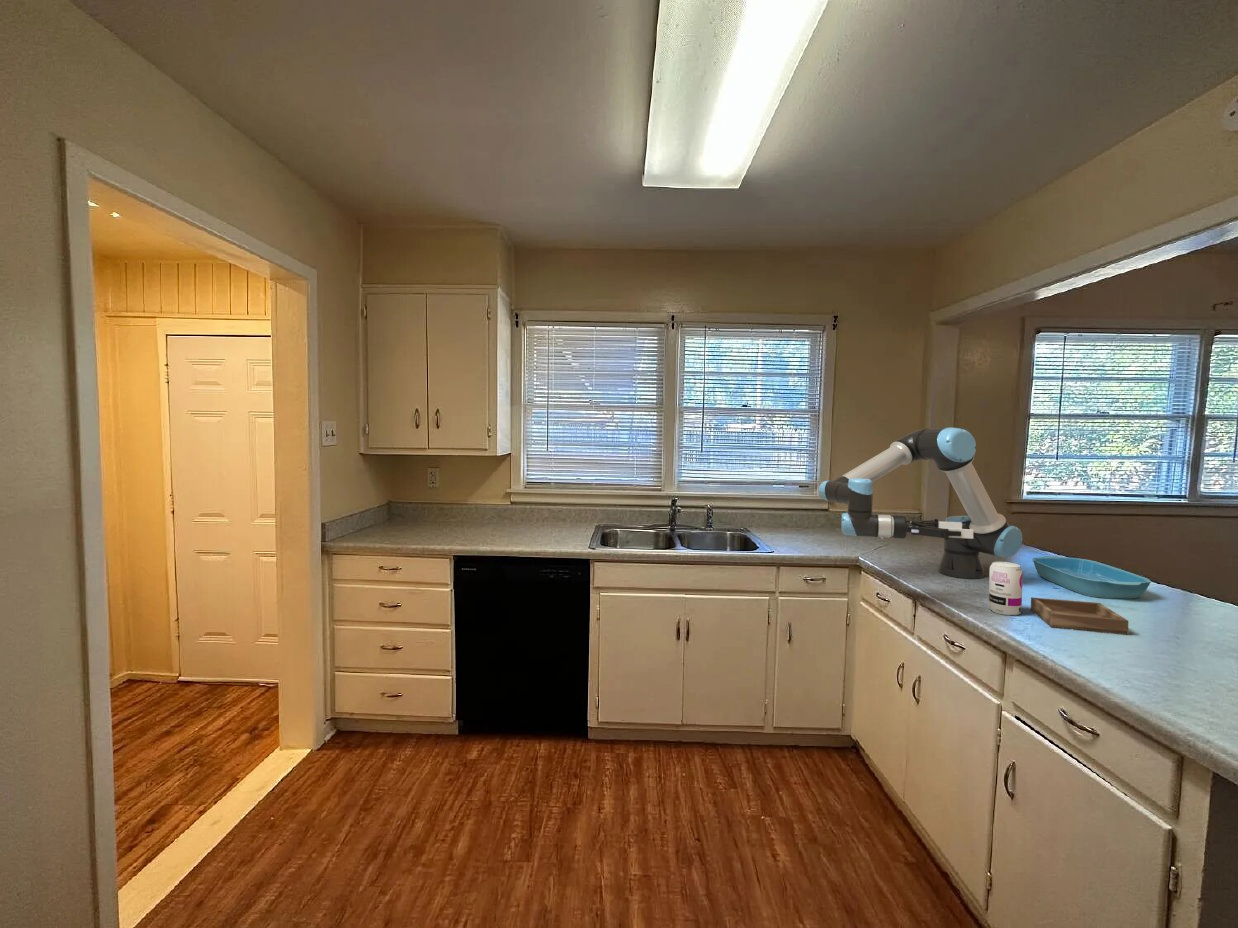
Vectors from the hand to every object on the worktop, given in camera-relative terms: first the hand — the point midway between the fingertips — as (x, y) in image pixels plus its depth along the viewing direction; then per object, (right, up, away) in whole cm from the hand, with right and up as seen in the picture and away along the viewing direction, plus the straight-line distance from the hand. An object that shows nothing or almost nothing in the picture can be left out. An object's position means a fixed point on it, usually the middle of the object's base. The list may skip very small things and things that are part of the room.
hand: (967, 530), depth 165 cm
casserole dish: (+58, -23, +22) cm, 66 cm away
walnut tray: (+24, -25, -12) cm, 37 cm away
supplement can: (+10, -25, -2) cm, 27 cm away
